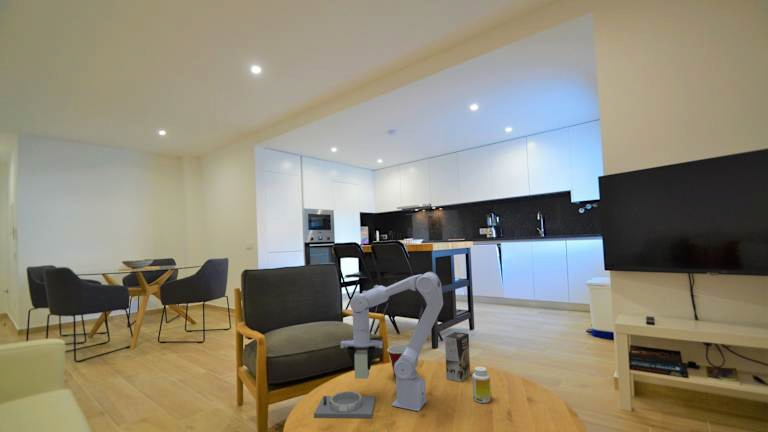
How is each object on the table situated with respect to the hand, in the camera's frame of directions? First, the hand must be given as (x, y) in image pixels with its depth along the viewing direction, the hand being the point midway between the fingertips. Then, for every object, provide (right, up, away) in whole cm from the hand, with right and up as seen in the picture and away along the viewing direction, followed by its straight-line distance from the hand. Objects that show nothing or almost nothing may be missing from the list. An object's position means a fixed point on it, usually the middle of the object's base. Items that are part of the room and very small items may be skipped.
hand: (362, 368), depth 121 cm
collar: (-6, -8, -7) cm, 13 cm away
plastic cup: (+15, -11, +15) cm, 24 cm away
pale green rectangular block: (0, -3, 0) cm, 3 cm away
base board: (-5, -10, -8) cm, 13 cm away
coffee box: (+37, -10, +15) cm, 41 cm away
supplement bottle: (+40, -9, -4) cm, 42 cm away
